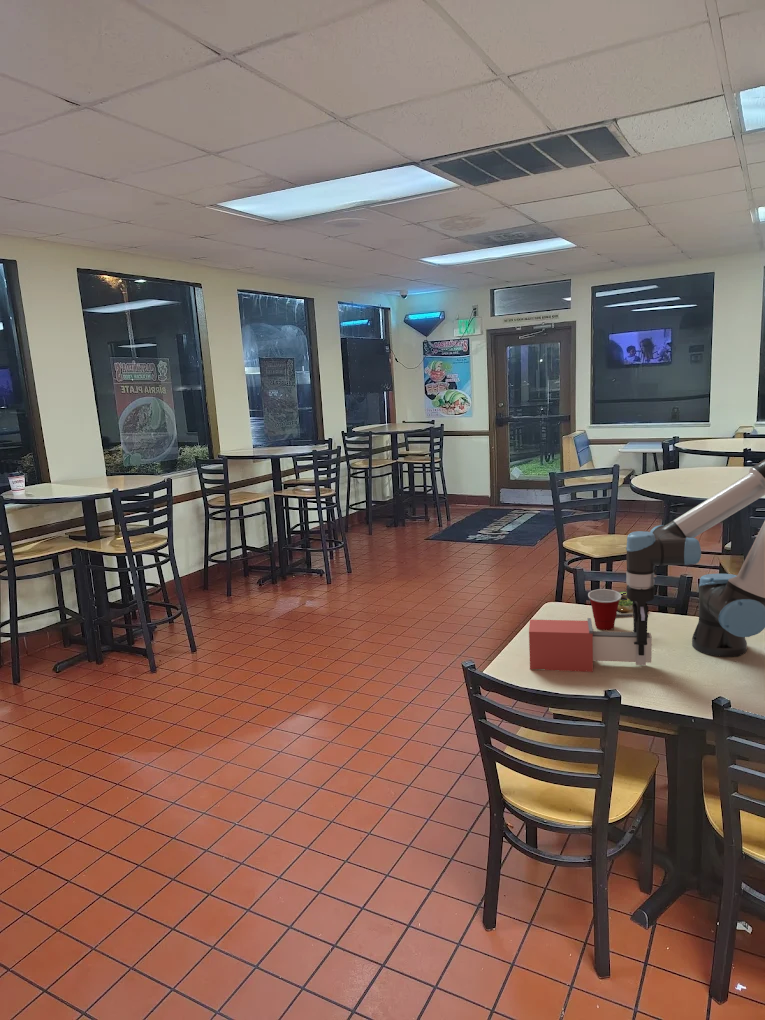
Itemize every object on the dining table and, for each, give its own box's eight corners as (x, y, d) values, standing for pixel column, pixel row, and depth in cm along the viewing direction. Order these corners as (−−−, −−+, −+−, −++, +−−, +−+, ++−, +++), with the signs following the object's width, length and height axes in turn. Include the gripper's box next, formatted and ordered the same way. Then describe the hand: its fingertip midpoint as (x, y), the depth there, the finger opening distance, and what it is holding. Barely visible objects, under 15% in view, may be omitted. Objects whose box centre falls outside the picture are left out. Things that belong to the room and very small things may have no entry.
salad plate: (660, 617, 235) (660, 605, 234) (610, 622, 234) (610, 609, 234) (636, 600, 254) (636, 588, 253) (590, 604, 253) (589, 592, 253)
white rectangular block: (586, 660, 200) (586, 634, 199) (586, 656, 203) (586, 631, 202) (651, 662, 196) (651, 636, 194) (650, 658, 199) (650, 632, 197)
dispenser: (530, 669, 201) (528, 629, 199) (530, 655, 211) (529, 616, 209) (593, 672, 197) (592, 630, 194) (591, 657, 207) (590, 618, 204)
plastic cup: (588, 633, 226) (587, 598, 223) (588, 621, 236) (587, 588, 233) (622, 634, 222) (622, 599, 220) (620, 622, 233) (620, 589, 230)
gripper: (658, 594, 185) (657, 674, 189) (650, 577, 200) (649, 651, 205) (629, 594, 187) (629, 673, 191) (623, 576, 202) (623, 650, 207)
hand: (639, 661), depth 198 cm, fingers closed on white rectangular block, 3 cm apart
